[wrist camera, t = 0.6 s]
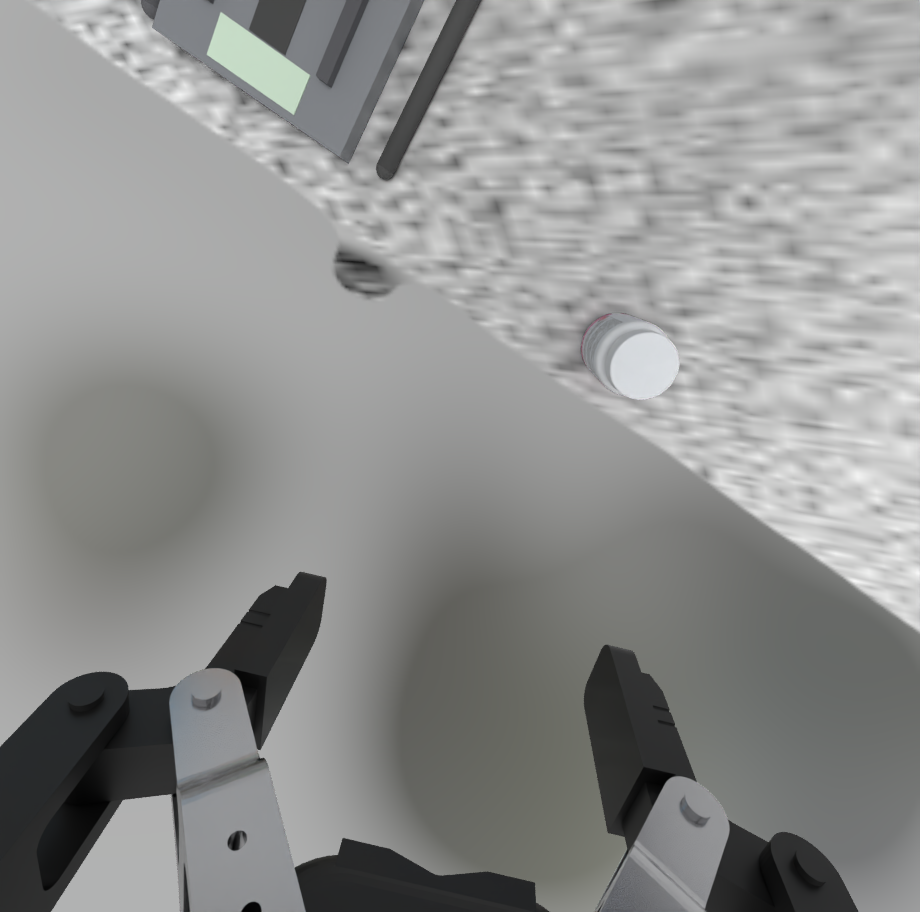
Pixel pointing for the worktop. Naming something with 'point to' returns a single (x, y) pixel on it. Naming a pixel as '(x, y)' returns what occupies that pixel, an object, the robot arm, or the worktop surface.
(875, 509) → the worktop surface
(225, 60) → the panel
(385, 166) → the dark grey rod
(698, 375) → the worktop surface
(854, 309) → the worktop surface
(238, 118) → the worktop surface
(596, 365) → the pill bottle
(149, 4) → the cord
